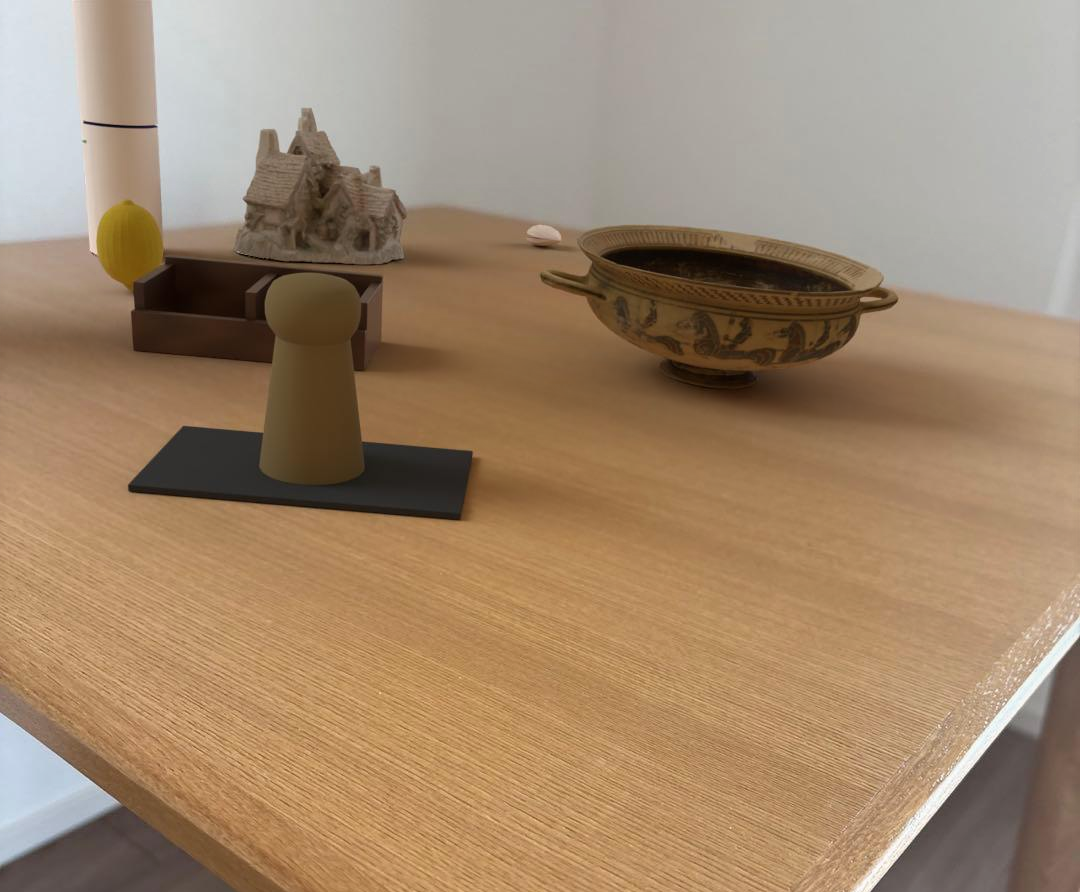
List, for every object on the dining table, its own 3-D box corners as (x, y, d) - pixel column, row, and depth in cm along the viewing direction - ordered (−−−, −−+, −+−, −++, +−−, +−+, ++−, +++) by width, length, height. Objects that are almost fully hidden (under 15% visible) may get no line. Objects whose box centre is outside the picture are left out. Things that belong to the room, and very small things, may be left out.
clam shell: (544, 242, 144) (546, 222, 143) (571, 250, 141) (573, 229, 140) (519, 244, 141) (521, 223, 140) (546, 251, 138) (548, 230, 137)
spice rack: (132, 350, 85) (128, 277, 83) (170, 322, 93) (167, 254, 91) (364, 371, 85) (366, 298, 83) (381, 340, 94) (383, 274, 91)
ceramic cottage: (212, 245, 122) (218, 98, 116) (321, 238, 135) (331, 105, 129) (315, 281, 115) (328, 127, 109) (420, 270, 128) (436, 132, 122)
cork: (332, 493, 62) (334, 294, 58) (237, 471, 64) (233, 276, 59) (383, 460, 67) (389, 275, 63) (294, 441, 69) (294, 259, 65)
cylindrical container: (121, 262, 112) (103, -18, 101) (74, 250, 115) (53, -23, 105) (178, 255, 117) (167, -12, 107) (132, 243, 121) (117, -17, 110)
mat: (127, 491, 61) (127, 484, 61) (183, 431, 70) (183, 425, 70) (460, 519, 61) (460, 513, 61) (472, 456, 71) (472, 450, 70)
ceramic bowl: (562, 418, 79) (577, 275, 75) (506, 331, 100) (515, 215, 96) (949, 427, 85) (982, 295, 81) (819, 343, 107) (840, 235, 103)
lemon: (139, 301, 98) (134, 206, 95) (86, 291, 100) (79, 198, 97) (177, 290, 103) (173, 200, 100) (126, 281, 105) (120, 192, 101)
